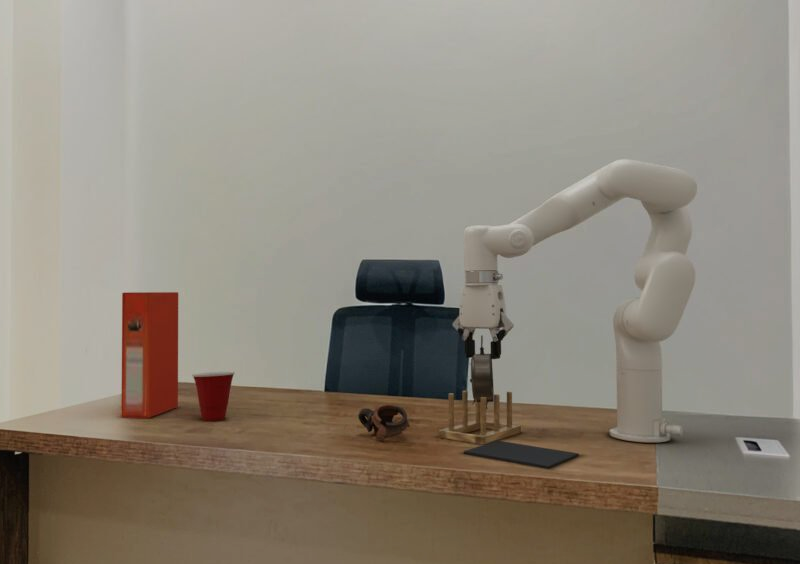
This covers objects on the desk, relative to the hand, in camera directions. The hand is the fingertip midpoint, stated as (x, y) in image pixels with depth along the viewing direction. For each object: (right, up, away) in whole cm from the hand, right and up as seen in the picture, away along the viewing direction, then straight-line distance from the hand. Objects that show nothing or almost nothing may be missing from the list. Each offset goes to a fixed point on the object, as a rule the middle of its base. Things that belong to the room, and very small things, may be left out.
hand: (482, 357), depth 163 cm
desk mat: (+4, -17, -20) cm, 27 cm away
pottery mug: (-23, -18, -4) cm, 29 cm away
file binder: (-83, -18, +26) cm, 89 cm away
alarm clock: (0, -11, 0) cm, 11 cm away
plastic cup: (-65, -18, +17) cm, 69 cm away
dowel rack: (-1, -18, -1) cm, 18 cm away
